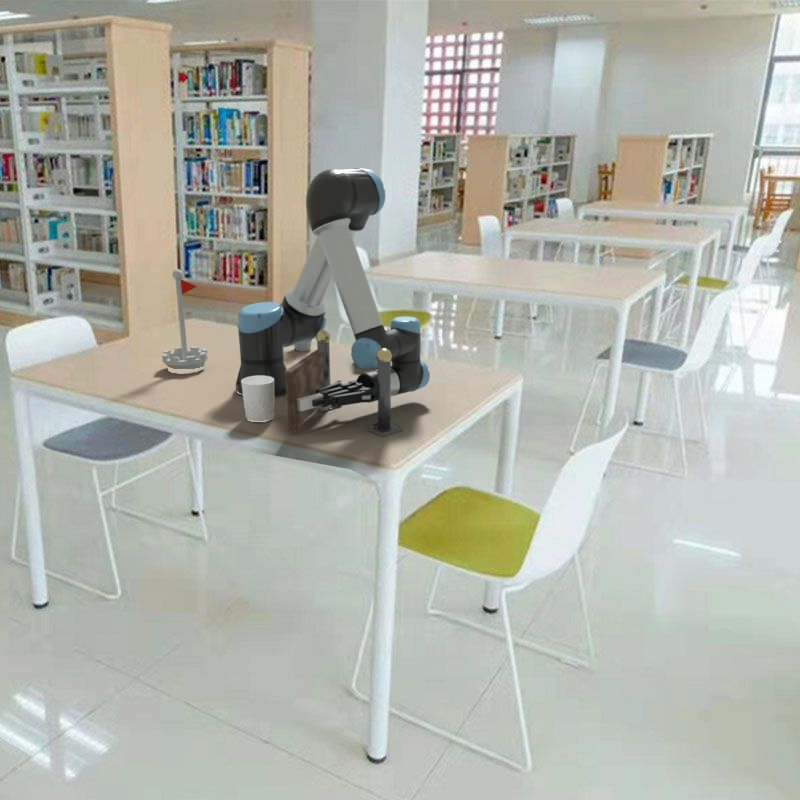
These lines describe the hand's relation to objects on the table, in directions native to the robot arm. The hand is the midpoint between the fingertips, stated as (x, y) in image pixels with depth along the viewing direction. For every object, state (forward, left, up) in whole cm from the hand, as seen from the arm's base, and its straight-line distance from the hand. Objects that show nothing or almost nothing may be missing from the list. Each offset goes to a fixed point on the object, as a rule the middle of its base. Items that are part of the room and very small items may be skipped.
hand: (298, 405), depth 177 cm
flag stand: (-59, +33, -7) cm, 68 cm away
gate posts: (+7, +15, -7) cm, 18 cm away
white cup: (-14, +5, -7) cm, 17 cm away
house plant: (-38, +67, -7) cm, 77 cm away
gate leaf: (-3, +8, -6) cm, 10 cm away
